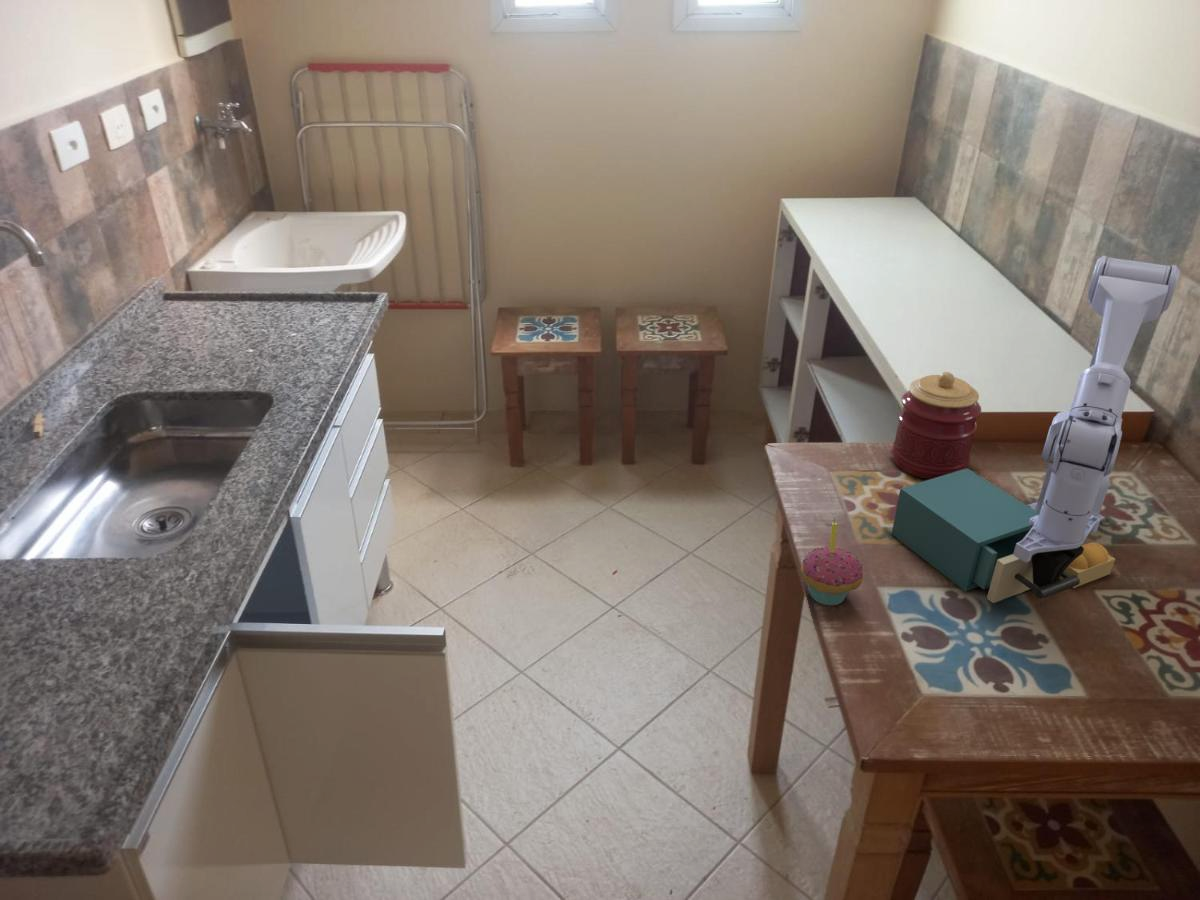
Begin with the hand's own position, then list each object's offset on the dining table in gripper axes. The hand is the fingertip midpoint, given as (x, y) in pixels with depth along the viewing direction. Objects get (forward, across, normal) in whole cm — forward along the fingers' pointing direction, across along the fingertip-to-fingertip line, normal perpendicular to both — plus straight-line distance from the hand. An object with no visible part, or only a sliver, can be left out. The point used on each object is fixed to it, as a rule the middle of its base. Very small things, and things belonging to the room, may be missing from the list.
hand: (1042, 585), depth 121 cm
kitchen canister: (+4, -17, -35) cm, 39 cm away
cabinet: (+3, -1, -14) cm, 15 cm away
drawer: (+3, -1, -7) cm, 7 cm away
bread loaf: (+3, -12, -2) cm, 12 cm away
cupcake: (+4, +24, -16) cm, 29 cm away
